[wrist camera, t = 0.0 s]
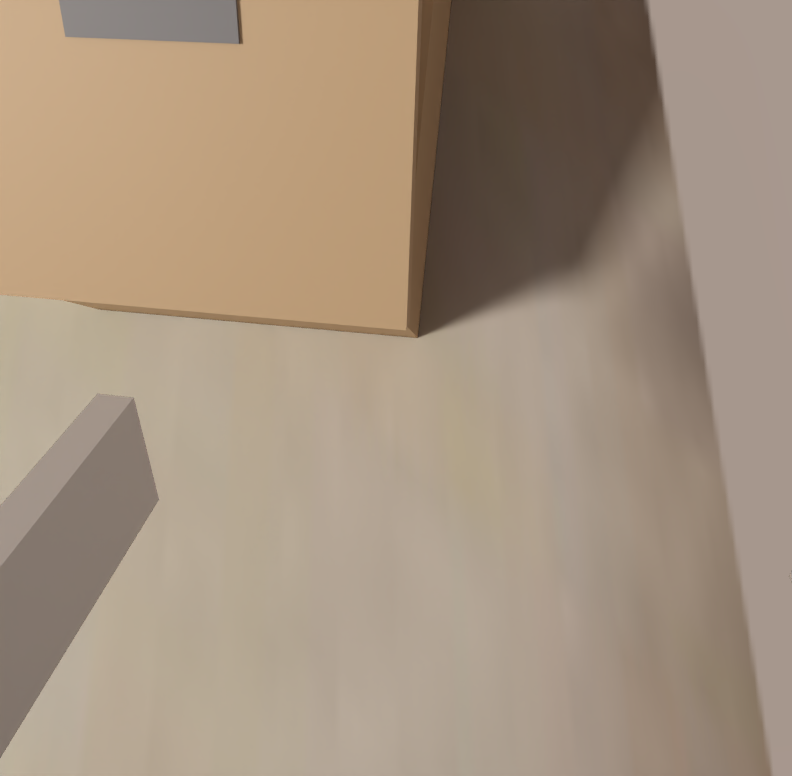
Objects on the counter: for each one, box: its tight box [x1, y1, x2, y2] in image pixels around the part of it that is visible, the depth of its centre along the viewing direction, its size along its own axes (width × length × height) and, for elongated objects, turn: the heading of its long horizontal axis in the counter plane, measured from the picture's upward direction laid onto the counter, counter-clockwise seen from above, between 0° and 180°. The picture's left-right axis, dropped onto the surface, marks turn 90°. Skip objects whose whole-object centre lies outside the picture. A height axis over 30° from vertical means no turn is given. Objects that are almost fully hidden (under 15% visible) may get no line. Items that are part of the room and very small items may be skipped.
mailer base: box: [64, 0, 451, 338], centre depth 27 cm, size 18×14×6 cm
